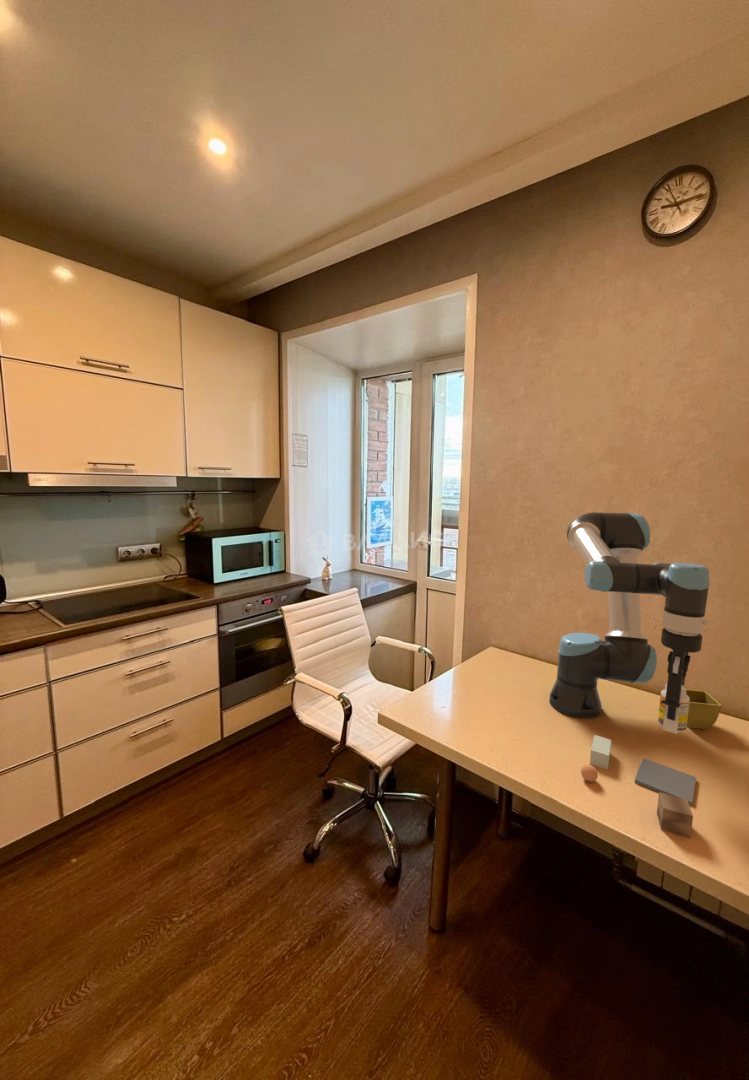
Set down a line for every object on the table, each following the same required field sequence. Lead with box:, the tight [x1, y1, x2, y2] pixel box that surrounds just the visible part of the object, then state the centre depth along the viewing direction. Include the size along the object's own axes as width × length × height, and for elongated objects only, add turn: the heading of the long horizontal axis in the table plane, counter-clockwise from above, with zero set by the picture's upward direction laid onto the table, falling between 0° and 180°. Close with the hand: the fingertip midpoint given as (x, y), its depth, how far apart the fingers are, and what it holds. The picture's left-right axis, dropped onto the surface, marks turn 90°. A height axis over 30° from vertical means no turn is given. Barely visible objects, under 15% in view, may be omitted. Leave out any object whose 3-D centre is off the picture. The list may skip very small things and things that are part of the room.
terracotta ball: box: [580, 764, 599, 783], centre depth 101 cm, size 4×4×4 cm
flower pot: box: [686, 688, 722, 730], centre depth 126 cm, size 9×9×9 cm
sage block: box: [589, 734, 612, 771], centre depth 109 cm, size 4×8×4 cm, turn 147°
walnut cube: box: [656, 792, 694, 839], centre depth 88 cm, size 5×5×5 cm
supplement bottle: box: [657, 682, 690, 733], centre depth 99 cm, size 6×6×10 cm
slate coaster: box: [634, 757, 697, 807], centre depth 101 cm, size 11×11×1 cm
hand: (671, 725), depth 99 cm, fingers closed on supplement bottle, 6 cm apart
